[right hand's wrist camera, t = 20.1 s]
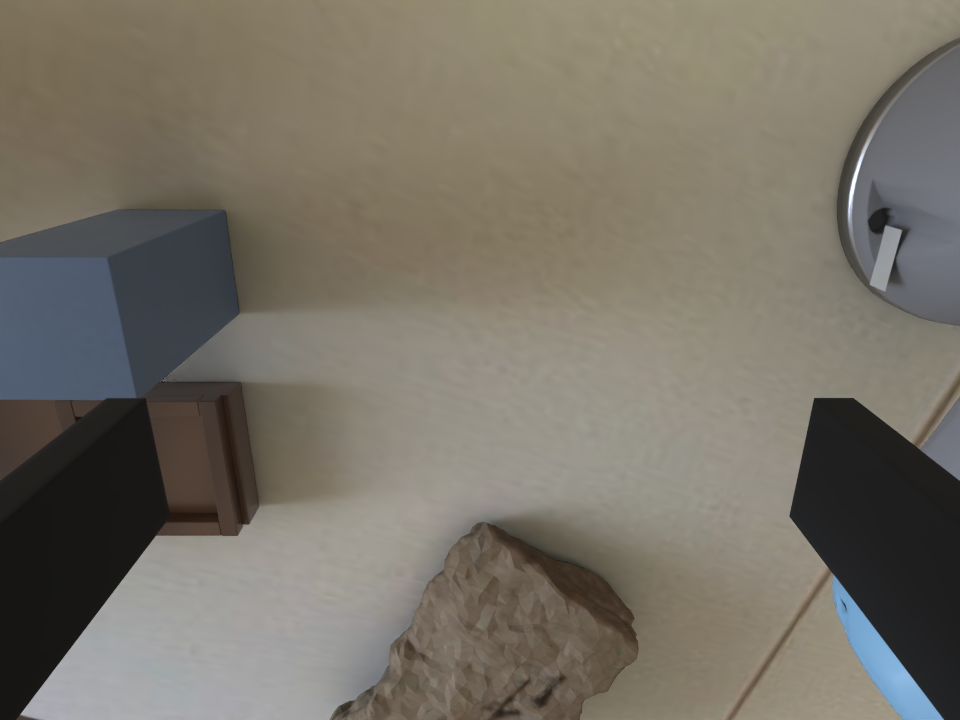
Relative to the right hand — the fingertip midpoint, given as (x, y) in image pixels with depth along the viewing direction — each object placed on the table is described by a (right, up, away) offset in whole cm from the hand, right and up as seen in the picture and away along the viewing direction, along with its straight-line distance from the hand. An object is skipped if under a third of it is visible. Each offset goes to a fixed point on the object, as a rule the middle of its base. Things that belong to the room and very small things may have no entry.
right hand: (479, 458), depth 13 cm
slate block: (-17, +7, +24) cm, 30 cm away
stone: (0, -19, +34) cm, 39 cm away
